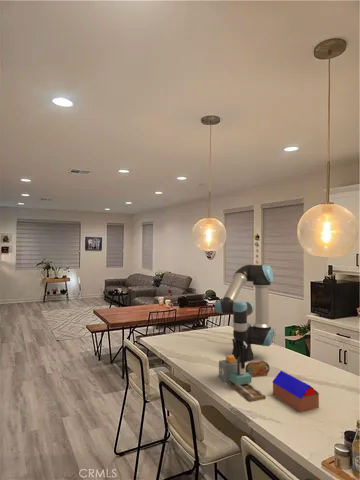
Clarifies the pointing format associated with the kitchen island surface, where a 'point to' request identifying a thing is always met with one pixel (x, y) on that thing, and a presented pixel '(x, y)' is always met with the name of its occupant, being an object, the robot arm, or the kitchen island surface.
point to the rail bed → (248, 391)
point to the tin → (257, 368)
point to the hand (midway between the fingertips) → (240, 372)
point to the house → (295, 392)
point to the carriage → (240, 376)
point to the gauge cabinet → (226, 370)
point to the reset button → (230, 358)
